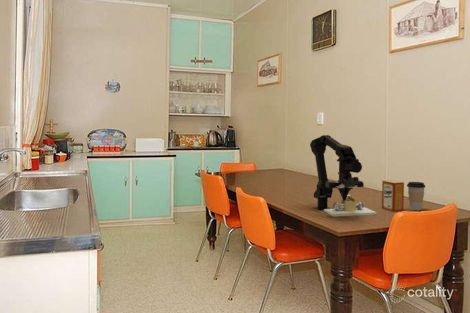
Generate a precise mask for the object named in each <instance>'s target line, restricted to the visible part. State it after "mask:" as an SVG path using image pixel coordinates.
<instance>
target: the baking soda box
mask: <svg viewBox="0 0 470 313" xmlns="http://www.w3.org/2000/svg"><path fill="white" fill-rule="evenodd" d="M381 183H382V186H381V187H382V190H381V193H382V194H381V209H384V210H387V211H391V212H403V211H404V198H405V196H404V195H405V181H404V182H403V181H401V180H400V181H399V180H392V179H391V180H389V179H388V180H382V182H381Z"/></svg>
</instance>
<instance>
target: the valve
mask: <svg viewBox="0 0 470 313" xmlns="http://www.w3.org/2000/svg"><path fill="white" fill-rule="evenodd" d="M363 207H365V206H364V202H362V201H359V202H353V201H351V200H350V199H346V200H345V201H343V199H341V202H340V203H339V202H338V201H337V202H335V203H333V206H332V209H335V210H336V211H339V209H341V210H343V211H356V209H357V208H358V210H361V209H362V208H363Z"/></svg>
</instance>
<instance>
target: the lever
mask: <svg viewBox="0 0 470 313" xmlns="http://www.w3.org/2000/svg"><path fill="white" fill-rule="evenodd" d="M346 199H350V200H351V201H353V202H356V203H357V202H360V201H359V200H360V199H359V197H358V198H357V197H354V196H352V194H350V193H348V195H347V198H346Z"/></svg>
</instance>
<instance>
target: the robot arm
mask: <svg viewBox="0 0 470 313" xmlns="http://www.w3.org/2000/svg"><path fill="white" fill-rule="evenodd" d="M309 146H310V149H311V152H312V154H313V155H314V157H315V164H316V171H317V178H318V181H317V184H316V190H315V191H314V193H313V198H315V199H317V205H316V206H315V208H316V209H317V210H324V209H331V208H330V207H328V204H329V203H328V199H329V198H330V199H331V198H332V196H333V192H334V189H338V192H339V193H340V196H341V200H343V201H345V200H346V198H347V195H348V194H350V191H351V190H353V189H354V188H355V186H356V187H357V188H364V181H362V180H359V179H360V178H359V176H354V177H353V176H352V174H353V173H356V174H358V173H360V172H361V171H362V169H363V165H362V163H361V162H360V161H359V158H357V156H356V154H355V152H354V150H353V148H352V147H351V146H349V145H348V144H347V145H345V144H342V143H341V142H339V141H338V140H336V139H335V138H333V137H331V135H329V134H323V135H320V136H319V137H317V138H315V139H312V140H311V141H310V144H309ZM327 147H329V148H331V149H332V150H333V151H334V152H335V155H336V156H337V157H338V158H337V159H336V162H338V172H337V175H338V179H337V182H336V181H333V180H331V181H330V180H329V179H328V172H327V167H326V160H325V153H326V149H327Z"/></svg>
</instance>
